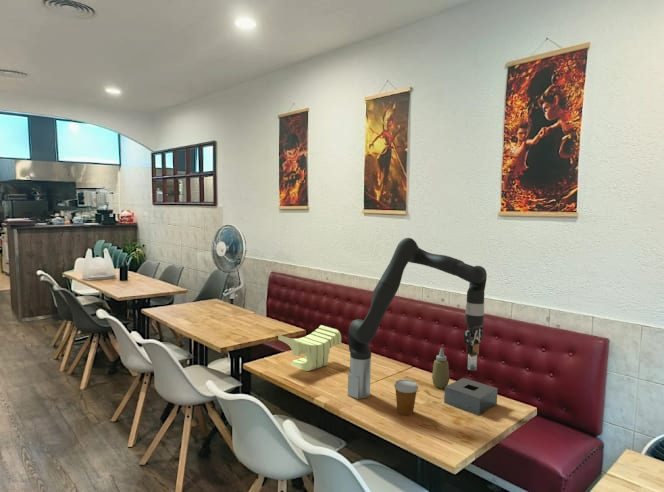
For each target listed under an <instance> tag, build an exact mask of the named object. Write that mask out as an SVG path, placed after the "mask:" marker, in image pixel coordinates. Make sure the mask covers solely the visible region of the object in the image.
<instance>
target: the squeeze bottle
mask: <svg viewBox="0 0 664 492" xmlns="http://www.w3.org/2000/svg"><path fill="white" fill-rule="evenodd" d="M435 358H436V359H435V360H434V361H433V367H432V374H431V379H432V383H433V386H434V387H435V388H438V389H445V387H446V386H448V385H449V382H450V369H449V366H450V365H449V361H448V360H447V356H446V355H445V353H444V348H440V349H439V354H438V355H436V357H435Z"/></svg>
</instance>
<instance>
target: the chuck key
mask: <svg viewBox="0 0 664 492" xmlns="http://www.w3.org/2000/svg"><path fill="white" fill-rule="evenodd" d="M479 350H480V343H479V344H478V343H475V342H473V353H472V354H468V353H467V370H469V371H477V366H478V365H477V364H478V355H479V354H480V353H479V352H480V351H479Z"/></svg>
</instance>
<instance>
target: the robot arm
mask: <svg viewBox="0 0 664 492" xmlns="http://www.w3.org/2000/svg"><path fill="white" fill-rule="evenodd" d="M408 263H411V264H417V265H421V266H426V267H429V268H432V269H436V270H437V271H441V272H444V273H447V274H449V275H452V276H456V277H458V278H460V279H462V280H464V281H466V282H468V283H469V288H468V289H467V291H466V303H465V315H464V322H465V324H466V325H467V328H466V330H463V332H462V333H463V342H464V344H465V345H466V353H467V355H468V354H472V353H473V342H475V343H478V344H479V345H480V343H481V341H482V342H483V337H484V336H483V335H484V331H485V327H484V323H485V322H484V320H485V289H486V285H487V270H486V269H485V267H483V266H481V265H475V266H473V265H471V264H468V263H465V262H464V261H463V260H461V259H458V258H455V257H452V256H448V255H444V254H437V253H432V252H429V251H426V250H423V249H422V248H420V247H419V245H418V244H417V242H416V241H415V239H413V238H412V237H405V238H402V239H401V240H400V241H399V242H398V244H397V246H396V248H395V250H394V251H393V255H392V257H391V259H390V262H389V263H388V265H387V266H386V267H385V270H384V272H383V274H382V275H381V277H380V278H379V280H378V281H377V283H376V286H375V287H374V289H373V291H372V295H371V302H370V308H369V310H368V312H367V315H366V316H365V317H364V320H363V319H361V318H360V319H354V320H353V321H352V322H351V323H350V325H349V328H348V350H349V354H350V355H349V373H348V374H347V395H348V396H350V397H351V398H354V399H356V400H358V399H366V398H369V397H370V395H371V372H372V371H371V369H372V368H371V367H372V365H371V364H372V350H371V348H370V346H369V343H371V342H372V341H373V339H374V338H375V336H376V334H377V332H378V329H379V327H380V325H381V322H382V320H383V318H384V316H385V315H386V312H387V311H388V309H389V307H390V305H391V303H392V301H393V300H394V297H395V296H396V294H397V292H398V290H399V288H400V284H401V282H402V278H403V274H404V271H405V269H406V267H407V265H408Z"/></svg>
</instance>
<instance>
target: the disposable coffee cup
mask: <svg viewBox="0 0 664 492" xmlns="http://www.w3.org/2000/svg"><path fill="white" fill-rule="evenodd" d="M393 387H394V389H395V399H396V409H397V410H396V411H397V413H398V414H400V415H402V416H411V415H413V414H414V408H415V403H416V397H417V391H418V390H419V386H418V383H417V382H416V381H414V380H411V379H406V378H405V379H403V378H402V379H398V380H396V381H395V383H394V386H393Z"/></svg>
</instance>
